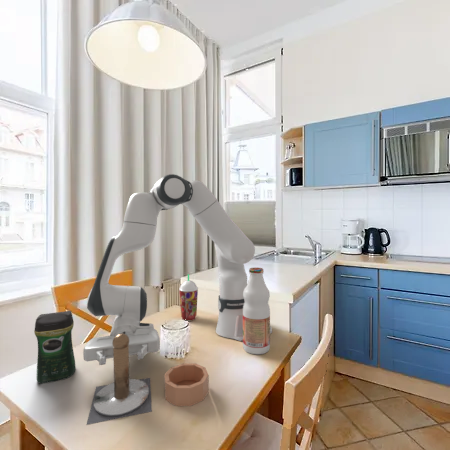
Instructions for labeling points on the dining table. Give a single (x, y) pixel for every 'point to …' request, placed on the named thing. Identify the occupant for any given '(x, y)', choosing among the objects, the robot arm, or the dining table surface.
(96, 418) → the mat
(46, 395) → the dining table surface
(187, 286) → the smoothie
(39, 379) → the coffee jar
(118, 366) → the peg on round base
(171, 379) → the bowl
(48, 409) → the dining table surface
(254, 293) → the fruit juice
